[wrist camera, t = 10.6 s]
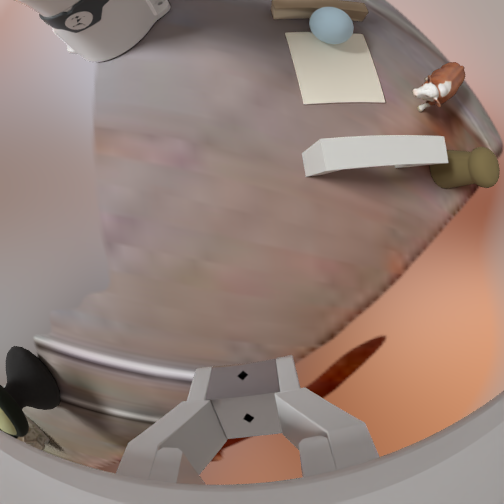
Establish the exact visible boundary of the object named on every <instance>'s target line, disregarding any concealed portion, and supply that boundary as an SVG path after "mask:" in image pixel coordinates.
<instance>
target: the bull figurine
mask: <svg viewBox="0 0 504 504" xmlns="http://www.w3.org/2000/svg"><path fill="white" fill-rule="evenodd" d="M464 79H465V72H464V67H463V66H460V65H459V64H458V63H456V62H450V63H447V64H445V65H443V66H442V67H441V69H437V70H435V71H434V72H433V73H432V74H431V76H430V75H428V77H427V78H425V83H424V84H423V85H422V86H421V87H420V88H418V89H413V92H412V93H413V95H414V96H415V97H416V98H418V99H419V98H422V99H423V100H427V102H426V103H425V104H422V105H420V106H418V107H417V109H418V111H419V112H422V111H423V110H424V109H425V108H426V107H430V106H431V105H435V104H436V105H437V106H438V107H441V105H440V104H443V103H445V102H446V101H447V100H448V99H450V98H451V97H453V96H454V95H455V94H456V92H457V90H458V88H459V86H460V85H461V84H462V83H463V81H464Z"/></svg>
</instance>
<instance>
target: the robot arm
mask: <svg viewBox="0 0 504 504" xmlns="http://www.w3.org/2000/svg"><path fill="white" fill-rule="evenodd" d="M15 1H17V2H19V3H22V4H24V5H26V6H28V7H29V8H31V9H33V10H34V11H36V12H38V13H39V15H40V18H41V19H42V20H43V21H44V22H45V23H46V24H48V25H50V26H52V27H53V32H54V33H55V34H56V35H57V36H58V37H59V38H60V39H61V40H63V41H64V42H65V43H66V44H67V45H68V47H67V51H68V52H70V53H72V54H79V55H81V56H82V57H83V58H84V59H85V60H87V61H90V62H102V61H106V60H109V59H112V58H114V57H117V56H119V55H120V54H122V53H124V52H126V51H127V50H129V49H130V48H131V47H133V46H134V45H135V44H136V43H138V42H139V41H140V40H141V39H142V38H143V37H144V36H145V35H146V33H147V32H148V31H149V30H150V28H151V27H152V25H153V24H154V23H155V22H156V21H157V20H158V19H159V18H161V17H162V16H163V15H165V14H166V13H167V12H168V11H169V10H170V4H169V2H168V0H15ZM160 4H161V5H160ZM278 433H283V435H284V436H285V437H286V438H287V439H288V440H289V441H290V442H291V443H292V444H293V445H294V446H296V448H298V450H299V451H300V459H301V468H302V476H303V477H302V478H296V479H290V480H283V481H275V482H266V483H256V484H236V485H206V484H205V483H204V481H203V480H202V479H201V477H200V476H199V474H200V473H201V472H202V470H204V468H205V467H206V466H207V465H208V464H209V462H210V461H211V460H212V459H213V457H214V456H215V455H216V454H217V452H218V451H219V450H220V449H221V447H222V446H223V445H224V443H225V442H226V441H227V439H230V438H241V437H250V436H259V435H269V434H278ZM0 504H504V391H503V392H501V393H500V394H499V395H497V396H496V397H495V398H493V399H492V400H490V401H489V402H488V403H486V404H485V405H483V406H482V407H480V408H479V409H477V410H476V411H474V412H472V413H471V414H469V415H468V416H466V417H464V418H463V419H461V420H459V421H458V422H456V423H454V424H452V425H451V426H449V427H447V428H445V429H443V430H441V431H439V432H437V433H435V434H433V435H431V436H429V437H427V438H425V439H423V440H421V441H419V442H416V443H414V444H412V445H410V446H407V447H405V448H402V449H400V450H398V451H395V452H393V453H390V454H387V455H384V456H382V457H379V455H378V453H377V450H376V448H375V445H374V443H373V441H372V438H371V436H370V433H369V431H368V429H367V427H366V424H365V423H364V422H363V421H361V420H359V419H357V418H355V417H354V416H352V415H350V414H348V413H347V412H345V411H343V410H341V409H340V408H338V407H336V406H335V405H333V404H331V403H329V402H328V401H326V400H325V399H323V398H321V397H320V396H318V395H316V394H315V393H313V392H312V391H310V390H308V389H307V388H300V385H299V380H298V376H297V372H296V368H295V363H294V359H293V356H292V355H289V356H284V357H280V358H276V359H271V360H265V361H259V362H253V363H246V364H234V365H224V366H213V367H201V368H197V369H196V370H195V374H194V377H193V381H192V385H191V388H190V392H189V395H188V399H187V401H182V402H181V403H180V404H179V405H177V406H176V407H175V408H174V409H172V410H171V411H170V412H169V413H167V414H166V415H165V416H163V417H162V418H161V419H160V420H158V421H157V422H156V423H154V424H153V425H152V426H150V427H149V428H148V429H146V430H145V431H144V432H142V433H141V434H140V435H138V436H137V437H136V438H134V439H133V440H131V441H130V442H129V443H128V445H127V447H126V450H125V452H124V455H123V457H122V460H121V462H120V464H119V467H118V469H117V472H116V474H114V473H110V472H106V471H102V470H98V469H94V468H91V467H87V466H84V465H81V464H77V463H74V462H71V461H68V460H66V459H63V458H60V457H57V456H55V455H52V454H49V453H47V452H44V451H42V450H40V449H37V448H35V447H33V446H31V445H28V444H26V443H24V442H22V441H20V440H18V439H16V438H14V437H12V436H10V435H8V434H6V433H5V432H3V431H1V430H0Z"/></svg>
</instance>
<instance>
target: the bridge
mask: <svg viewBox="0 0 504 504" xmlns="http://www.w3.org/2000/svg"><path fill="white" fill-rule="evenodd" d="M302 157H303V162H304V168H305V174H306V177H308V176H316V175H323V174H327V173H331V172H335V171H339V170H344V169H355V168H366V167H379V166H394V165H395V168H403V167H413V166H422V165H432V164H443V163H448V157H447V151H446V145H445V140H444V136H420V135H381V136H355V137H339V138H326V139H320V140H318V141H317V142H316V143H314V144H313V145H312V146H311V147H309V148H308V149H307V150H306V151H304V152H303V153H302Z"/></svg>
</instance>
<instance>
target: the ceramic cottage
mask: <svg viewBox="0 0 504 504" xmlns="http://www.w3.org/2000/svg"><path fill="white" fill-rule="evenodd" d="M25 416H26V415H25ZM26 418H27V421H28V424H29V431H28V433H27V435H26V436H23V437H18V438H17V439H18V440H20V441H22V442H24V443H26V444H28V445H31V446H33V447H35V448H37V449H40V450H44V448H45V444H48V443H49V438H48V437H47V436H46V435H45V434H44V432H43V431H42V430H41V429H40V428H39V427H38V426H37V425H36V424H35V423H34V422H33V421H32V420H31V419H29V418H28V417H27V416H26Z"/></svg>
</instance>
